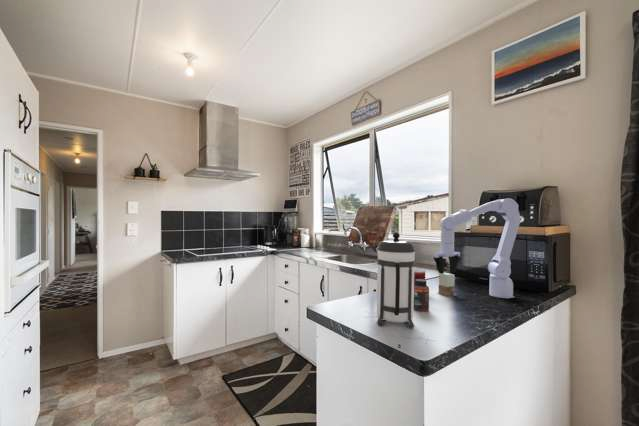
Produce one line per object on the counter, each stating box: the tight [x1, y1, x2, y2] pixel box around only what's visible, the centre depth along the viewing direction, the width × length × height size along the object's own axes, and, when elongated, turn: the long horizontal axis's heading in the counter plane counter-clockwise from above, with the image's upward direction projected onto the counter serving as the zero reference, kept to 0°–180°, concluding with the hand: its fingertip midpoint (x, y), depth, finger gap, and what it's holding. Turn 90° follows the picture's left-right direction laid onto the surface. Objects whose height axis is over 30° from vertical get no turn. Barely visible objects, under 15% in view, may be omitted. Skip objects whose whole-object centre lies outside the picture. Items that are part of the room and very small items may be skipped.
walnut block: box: [438, 284, 455, 297], centre depth 135 cm, size 4×4×4 cm
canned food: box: [414, 268, 426, 285], centre depth 137 cm, size 8×8×11 cm
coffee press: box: [376, 232, 417, 329], centre depth 100 cm, size 17×16×30 cm
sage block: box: [438, 272, 455, 287], centre depth 135 cm, size 4×4×5 cm
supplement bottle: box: [413, 279, 430, 313], centre depth 115 cm, size 6×6×11 cm
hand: (447, 272), depth 139 cm, fingers open, 7 cm apart
